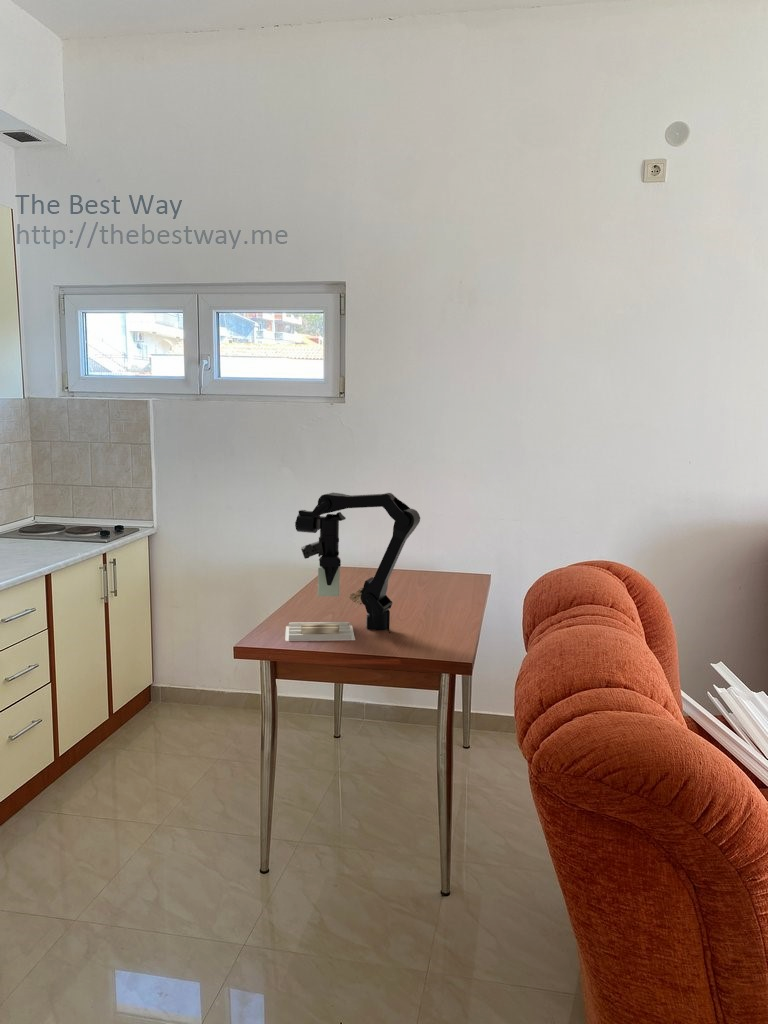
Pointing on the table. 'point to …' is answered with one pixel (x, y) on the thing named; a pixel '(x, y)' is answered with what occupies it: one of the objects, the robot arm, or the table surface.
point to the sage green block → (328, 589)
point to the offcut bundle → (320, 629)
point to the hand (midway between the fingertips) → (328, 584)
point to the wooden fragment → (356, 596)
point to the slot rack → (295, 634)
